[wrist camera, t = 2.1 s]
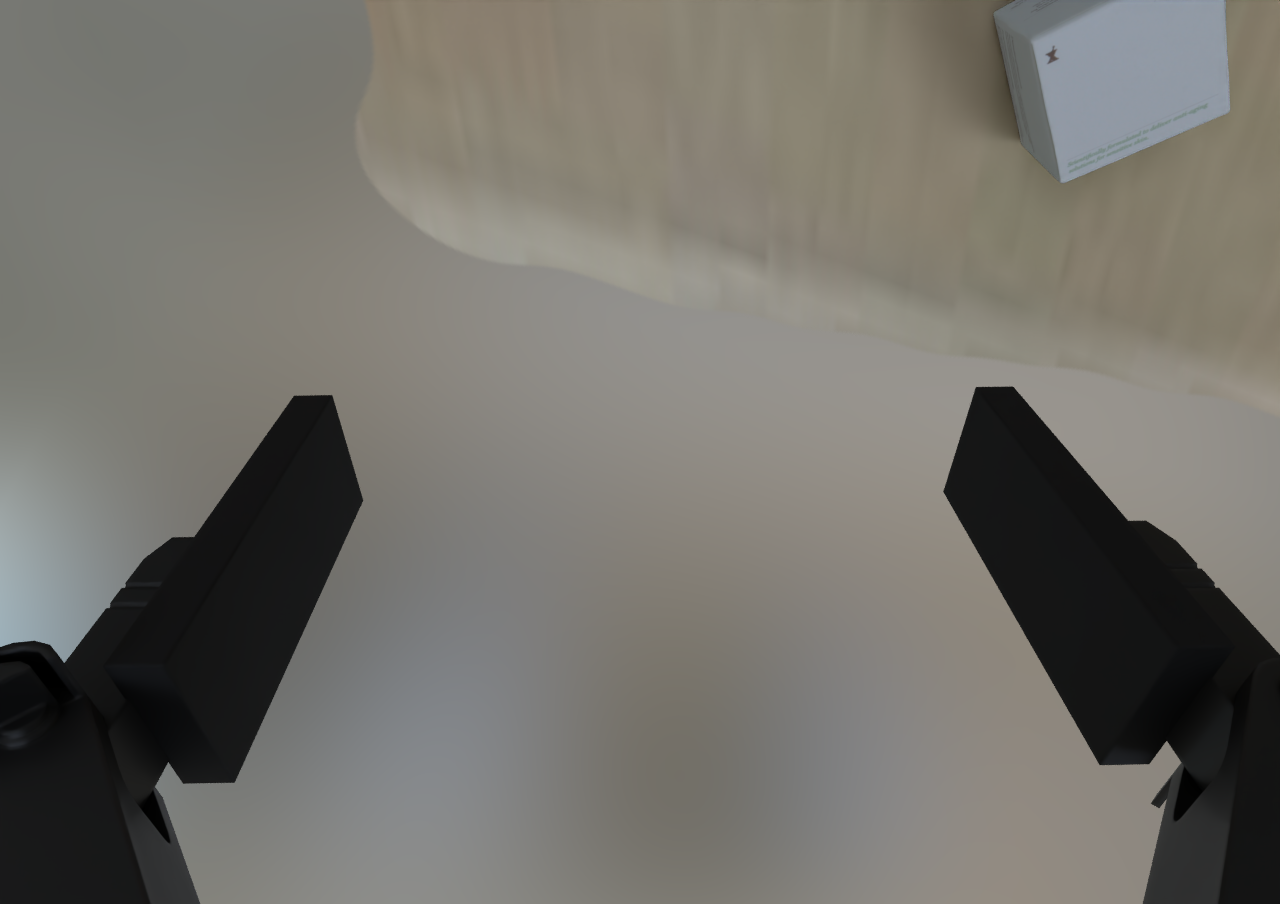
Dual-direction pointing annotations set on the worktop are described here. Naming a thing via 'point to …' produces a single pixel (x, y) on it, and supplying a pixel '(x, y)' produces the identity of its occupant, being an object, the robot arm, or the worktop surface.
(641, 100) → the worktop surface
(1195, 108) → the small box
